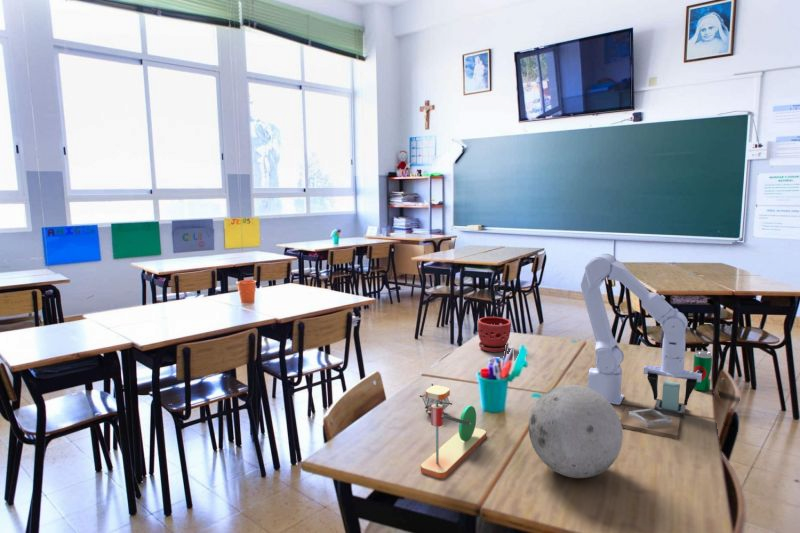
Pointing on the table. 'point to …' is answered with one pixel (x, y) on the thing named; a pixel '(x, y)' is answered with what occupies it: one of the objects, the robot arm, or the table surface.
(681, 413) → the stand socket
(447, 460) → the crank mechanism
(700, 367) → the soda can
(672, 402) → the teal peg
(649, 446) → the table surface
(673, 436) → the socket board
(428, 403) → the grey wire strut frame
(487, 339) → the plant pot
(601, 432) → the moon model
